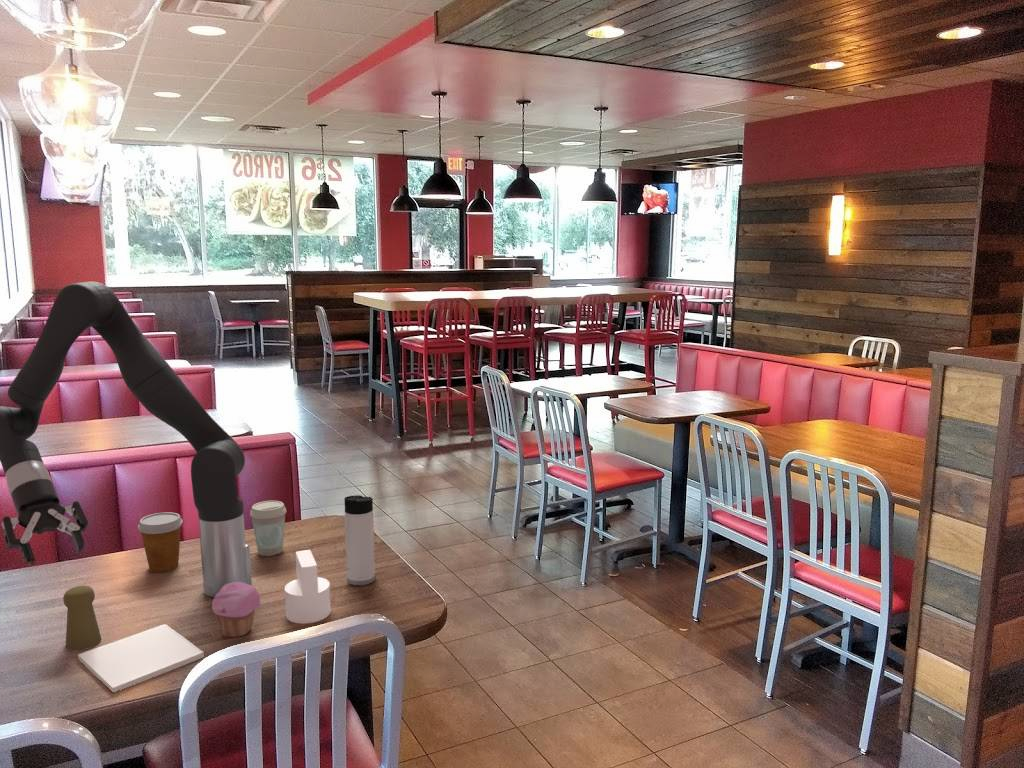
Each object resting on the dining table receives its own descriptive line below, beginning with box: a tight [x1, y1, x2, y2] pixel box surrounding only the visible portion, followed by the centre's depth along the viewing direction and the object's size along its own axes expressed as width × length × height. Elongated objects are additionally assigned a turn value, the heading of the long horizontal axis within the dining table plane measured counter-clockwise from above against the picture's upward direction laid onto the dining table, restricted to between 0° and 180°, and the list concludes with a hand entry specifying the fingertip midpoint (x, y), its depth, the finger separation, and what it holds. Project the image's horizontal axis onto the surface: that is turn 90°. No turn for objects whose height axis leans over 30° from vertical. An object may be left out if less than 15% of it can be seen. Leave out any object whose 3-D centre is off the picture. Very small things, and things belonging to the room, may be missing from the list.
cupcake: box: [211, 582, 261, 638], centre depth 152 cm, size 9×9×10 cm
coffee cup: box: [249, 500, 287, 557], centre depth 192 cm, size 9×8×12 cm
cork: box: [62, 585, 102, 651], centre depth 148 cm, size 6×6×11 cm
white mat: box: [77, 623, 205, 693], centre depth 143 cm, size 16×16×1 cm
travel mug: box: [343, 495, 376, 586], centre depth 175 cm, size 6×7×20 cm
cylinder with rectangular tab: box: [284, 549, 332, 624], centre depth 160 cm, size 9×9×12 cm
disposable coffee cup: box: [137, 511, 184, 573], centre depth 183 cm, size 10×10×12 cm
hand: (56, 556), depth 153 cm, fingers open, 8 cm apart
